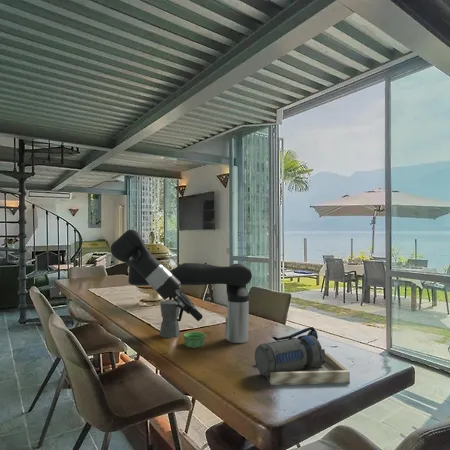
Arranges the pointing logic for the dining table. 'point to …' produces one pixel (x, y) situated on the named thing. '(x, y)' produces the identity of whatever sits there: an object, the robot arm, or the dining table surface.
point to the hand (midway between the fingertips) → (200, 318)
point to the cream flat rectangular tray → (313, 374)
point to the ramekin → (194, 339)
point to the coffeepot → (170, 318)
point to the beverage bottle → (290, 353)
